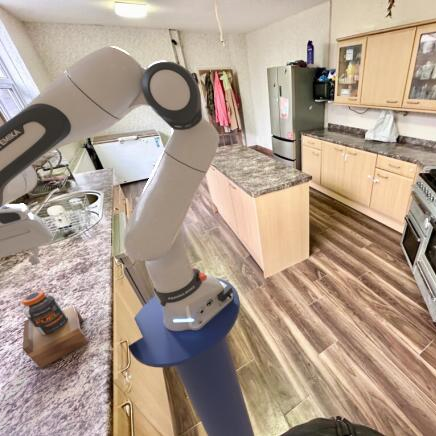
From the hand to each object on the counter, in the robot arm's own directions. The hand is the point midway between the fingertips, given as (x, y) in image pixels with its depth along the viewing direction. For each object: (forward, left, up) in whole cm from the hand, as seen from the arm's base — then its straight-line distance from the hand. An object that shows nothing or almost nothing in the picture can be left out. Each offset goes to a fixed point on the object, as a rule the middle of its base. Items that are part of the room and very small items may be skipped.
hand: (9, 272), depth 55 cm
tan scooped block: (0, 0, -25) cm, 25 cm away
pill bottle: (0, 0, -20) cm, 20 cm away
